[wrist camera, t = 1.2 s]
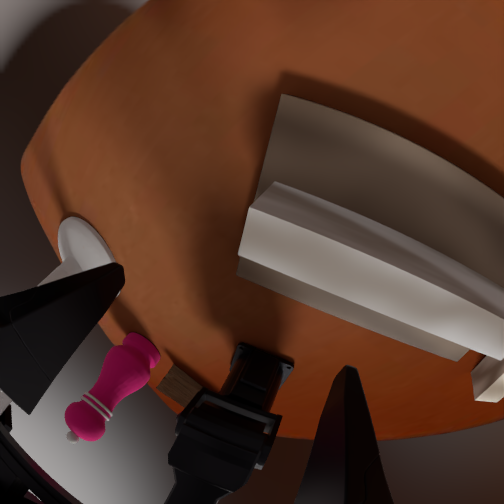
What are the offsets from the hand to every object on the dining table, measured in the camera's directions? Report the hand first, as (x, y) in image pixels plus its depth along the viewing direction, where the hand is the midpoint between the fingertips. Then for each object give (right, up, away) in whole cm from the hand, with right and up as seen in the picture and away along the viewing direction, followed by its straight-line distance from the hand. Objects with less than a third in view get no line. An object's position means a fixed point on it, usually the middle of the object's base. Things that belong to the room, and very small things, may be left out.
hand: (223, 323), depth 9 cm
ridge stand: (+12, +3, +8) cm, 15 cm away
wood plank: (-5, -20, +30) cm, 37 cm away
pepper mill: (-16, -12, +30) cm, 36 cm away
